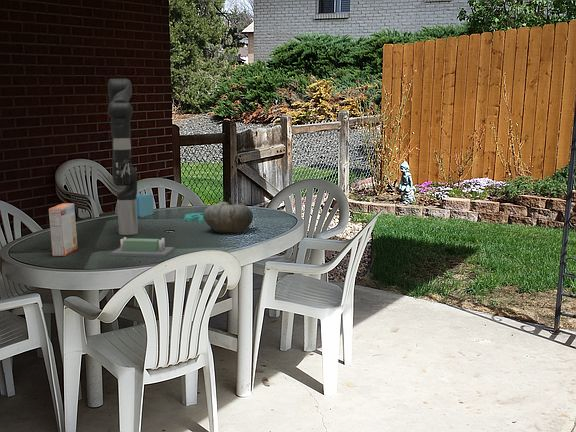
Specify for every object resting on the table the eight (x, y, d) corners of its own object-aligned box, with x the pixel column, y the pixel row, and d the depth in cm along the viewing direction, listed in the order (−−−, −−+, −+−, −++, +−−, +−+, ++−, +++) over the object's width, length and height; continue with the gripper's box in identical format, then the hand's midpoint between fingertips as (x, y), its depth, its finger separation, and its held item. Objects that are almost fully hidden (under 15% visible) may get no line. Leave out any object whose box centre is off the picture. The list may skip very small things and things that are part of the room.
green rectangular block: (129, 248, 299) (128, 238, 298) (159, 249, 297) (159, 239, 296) (124, 250, 294) (124, 240, 294) (155, 251, 292) (155, 241, 292)
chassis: (122, 248, 304) (122, 234, 303) (174, 249, 301) (174, 236, 300) (110, 255, 291) (109, 241, 290) (164, 257, 288) (164, 242, 286)
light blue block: (147, 214, 394) (146, 193, 392) (153, 214, 392) (153, 193, 390) (133, 217, 384) (132, 196, 382) (140, 217, 382) (139, 196, 380)
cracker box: (65, 249, 304) (62, 202, 300) (78, 249, 303) (75, 203, 300) (51, 256, 290) (47, 208, 287) (64, 256, 290) (61, 208, 286)
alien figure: (227, 218, 380) (202, 215, 392) (227, 214, 379) (202, 211, 392) (200, 224, 365) (175, 220, 377) (200, 220, 364) (175, 216, 377)
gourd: (204, 232, 327) (207, 196, 327) (199, 230, 351) (201, 197, 351) (256, 234, 332) (258, 199, 332) (247, 233, 357) (249, 200, 357)
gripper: (124, 149, 294) (126, 186, 297) (136, 147, 308) (137, 182, 311) (107, 149, 295) (109, 186, 298) (120, 147, 309) (121, 182, 312)
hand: (123, 184), depth 305 cm, fingers open, 8 cm apart
